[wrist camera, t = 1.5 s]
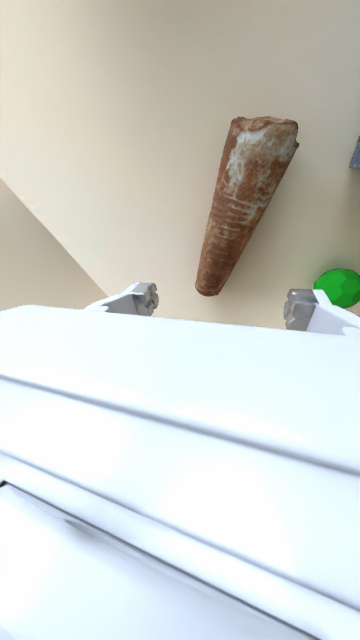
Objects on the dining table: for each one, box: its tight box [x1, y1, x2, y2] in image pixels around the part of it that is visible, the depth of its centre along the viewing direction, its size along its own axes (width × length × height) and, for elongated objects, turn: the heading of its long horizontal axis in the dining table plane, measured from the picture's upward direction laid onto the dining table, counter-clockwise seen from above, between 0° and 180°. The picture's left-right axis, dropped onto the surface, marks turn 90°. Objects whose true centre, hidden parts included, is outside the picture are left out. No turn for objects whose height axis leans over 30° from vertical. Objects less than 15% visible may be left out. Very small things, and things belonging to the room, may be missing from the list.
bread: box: [195, 116, 299, 296], centre depth 22 cm, size 6×19×6 cm, turn 166°
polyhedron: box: [313, 269, 360, 309], centre depth 23 cm, size 5×5×5 cm
